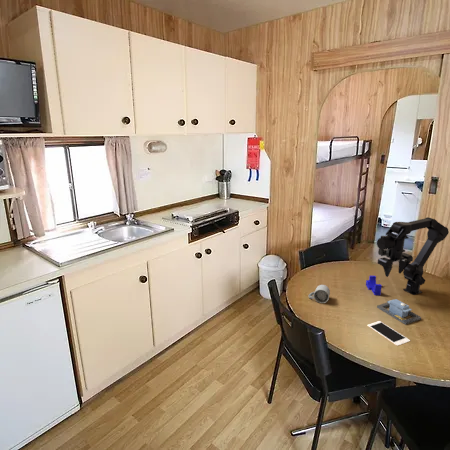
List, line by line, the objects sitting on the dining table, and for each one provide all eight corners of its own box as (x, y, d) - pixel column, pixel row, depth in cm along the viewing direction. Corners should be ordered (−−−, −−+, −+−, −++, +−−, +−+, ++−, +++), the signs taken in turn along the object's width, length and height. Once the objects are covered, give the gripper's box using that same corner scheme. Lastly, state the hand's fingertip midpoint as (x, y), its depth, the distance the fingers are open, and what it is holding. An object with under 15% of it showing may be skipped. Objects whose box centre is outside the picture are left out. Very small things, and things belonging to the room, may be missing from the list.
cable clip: (365, 284, 183) (366, 275, 181) (374, 285, 182) (375, 275, 180) (371, 295, 171) (372, 285, 169) (380, 295, 170) (381, 285, 169)
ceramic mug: (329, 296, 170) (330, 283, 168) (328, 304, 163) (329, 291, 161) (309, 294, 174) (310, 281, 172) (307, 301, 167) (307, 288, 165)
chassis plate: (391, 303, 163) (392, 300, 162) (420, 319, 149) (421, 316, 148) (377, 307, 159) (377, 305, 159) (405, 324, 145) (405, 322, 145)
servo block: (392, 307, 159) (393, 296, 157) (410, 317, 150) (412, 306, 148) (386, 309, 158) (387, 298, 156) (404, 319, 149) (406, 308, 147)
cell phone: (397, 346, 131) (397, 345, 131) (366, 326, 146) (366, 324, 145) (410, 341, 134) (410, 340, 134) (379, 321, 148) (379, 320, 148)
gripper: (396, 239, 173) (393, 265, 177) (370, 244, 166) (367, 272, 171) (415, 245, 163) (411, 273, 167) (388, 252, 156) (384, 280, 161)
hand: (393, 274), depth 167 cm, fingers open, 9 cm apart
